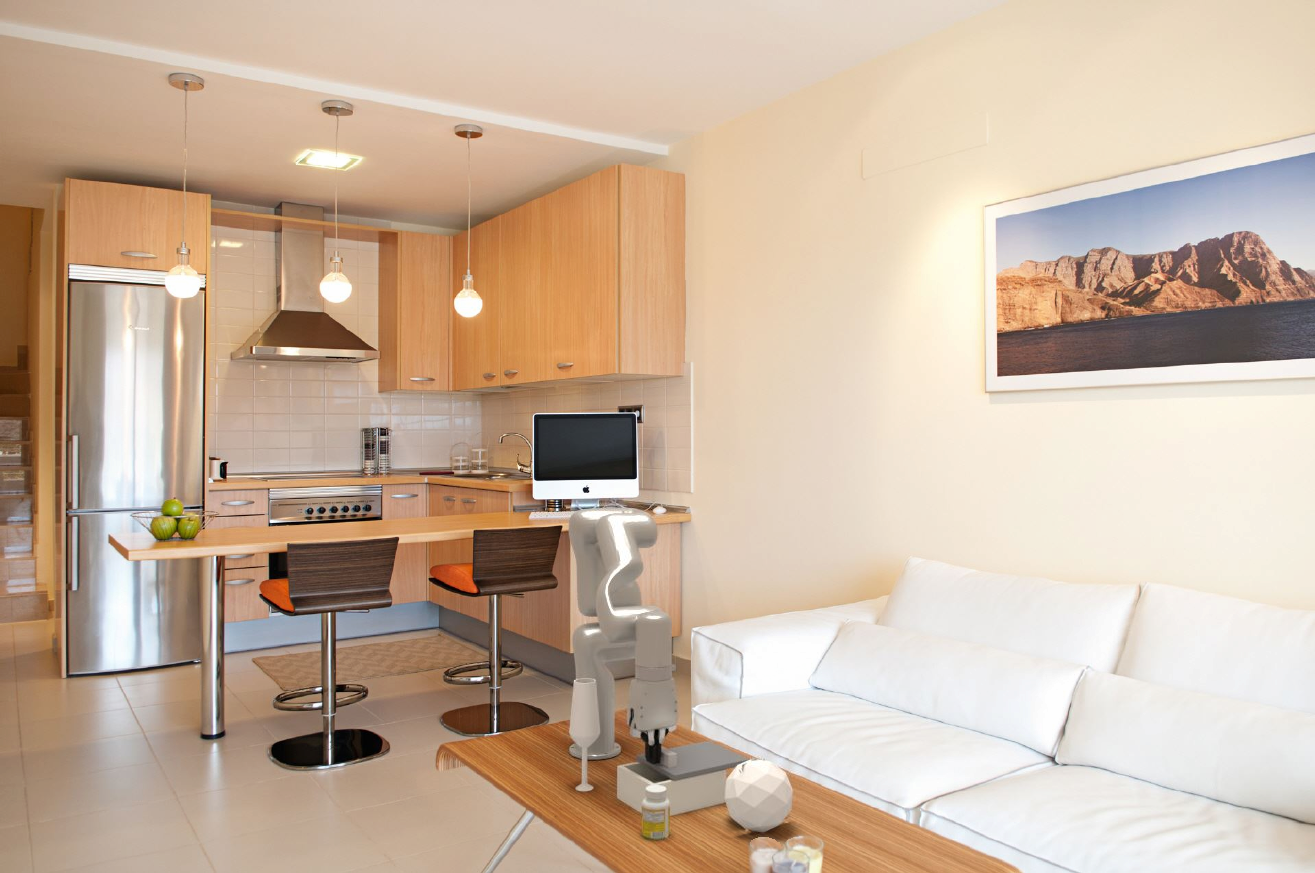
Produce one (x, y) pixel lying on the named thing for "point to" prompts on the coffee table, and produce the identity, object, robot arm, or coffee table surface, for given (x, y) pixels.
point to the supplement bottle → (655, 813)
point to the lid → (694, 760)
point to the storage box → (670, 788)
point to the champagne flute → (584, 721)
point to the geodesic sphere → (758, 795)
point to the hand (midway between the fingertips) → (653, 761)
